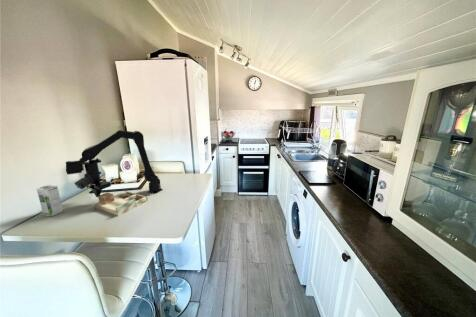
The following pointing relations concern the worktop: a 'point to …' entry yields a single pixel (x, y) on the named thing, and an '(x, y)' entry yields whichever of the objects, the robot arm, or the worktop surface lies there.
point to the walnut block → (106, 198)
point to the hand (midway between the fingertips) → (97, 197)
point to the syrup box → (50, 200)
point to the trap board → (122, 203)
